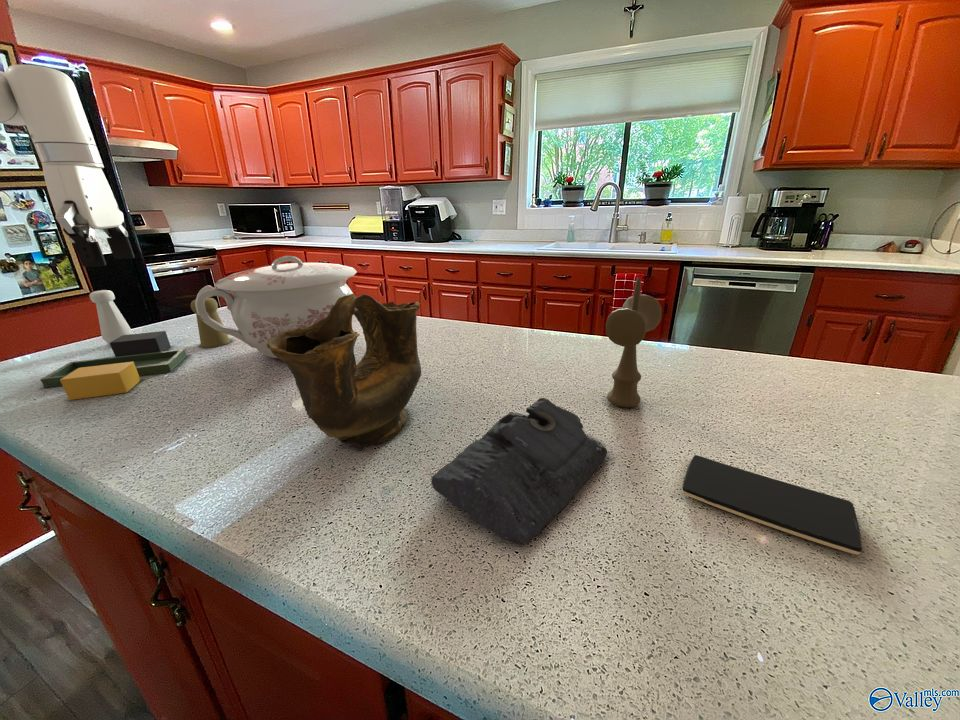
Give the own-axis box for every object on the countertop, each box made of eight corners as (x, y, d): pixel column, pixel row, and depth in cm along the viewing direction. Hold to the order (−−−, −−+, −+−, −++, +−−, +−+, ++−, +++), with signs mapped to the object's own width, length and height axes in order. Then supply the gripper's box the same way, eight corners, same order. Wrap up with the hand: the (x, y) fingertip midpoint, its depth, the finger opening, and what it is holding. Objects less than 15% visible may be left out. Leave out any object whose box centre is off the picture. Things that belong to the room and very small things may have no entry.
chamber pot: (383, 329, 101) (372, 246, 93) (336, 374, 76) (316, 266, 68) (280, 329, 104) (261, 248, 96) (203, 372, 79) (168, 267, 71)
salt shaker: (113, 340, 99) (92, 289, 94) (140, 338, 101) (121, 287, 96) (100, 348, 94) (77, 294, 89) (129, 345, 96) (108, 292, 91)
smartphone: (692, 453, 48) (855, 501, 40) (691, 460, 49) (851, 510, 41) (680, 487, 43) (865, 551, 35) (678, 495, 43) (861, 561, 35)
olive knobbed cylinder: (197, 348, 92) (182, 302, 88) (206, 340, 97) (192, 296, 93) (225, 345, 93) (212, 300, 89) (233, 337, 99) (221, 294, 95)
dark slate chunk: (411, 491, 45) (407, 457, 44) (518, 413, 61) (518, 385, 59) (523, 560, 36) (524, 521, 35) (615, 448, 52) (618, 416, 50)
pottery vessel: (348, 490, 46) (316, 327, 38) (276, 471, 49) (234, 318, 42) (441, 394, 67) (433, 278, 60) (387, 386, 71) (372, 275, 63)
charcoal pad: (116, 359, 87) (109, 342, 85) (128, 351, 92) (122, 335, 90) (161, 354, 89) (155, 338, 88) (171, 346, 94) (165, 330, 92)
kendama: (650, 394, 65) (669, 273, 58) (634, 420, 58) (653, 285, 50) (613, 386, 69) (627, 270, 61) (594, 409, 61) (606, 281, 54)
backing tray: (44, 387, 74) (39, 379, 74) (73, 369, 82) (70, 361, 82) (170, 371, 80) (168, 364, 79) (187, 356, 88) (184, 349, 87)
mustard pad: (69, 400, 69) (59, 379, 68) (87, 387, 74) (78, 367, 73) (127, 392, 71) (118, 372, 70) (141, 380, 76) (133, 361, 75)
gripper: (76, 162, 73) (112, 257, 79) (1, 152, 57) (53, 271, 64) (124, 162, 74) (156, 255, 81) (64, 152, 59) (109, 268, 66)
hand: (110, 262), depth 72 cm, fingers open, 9 cm apart
